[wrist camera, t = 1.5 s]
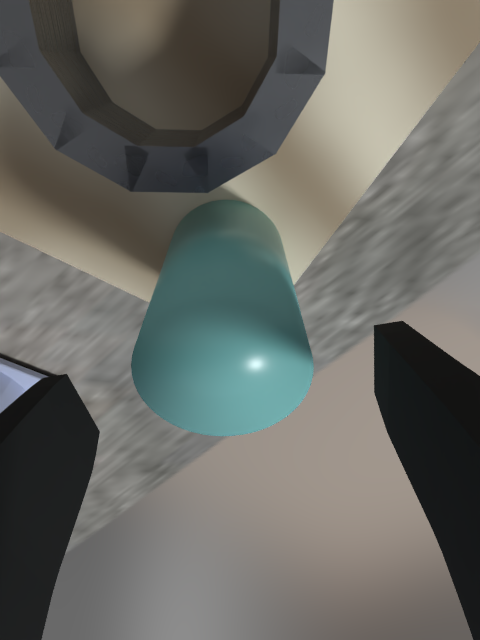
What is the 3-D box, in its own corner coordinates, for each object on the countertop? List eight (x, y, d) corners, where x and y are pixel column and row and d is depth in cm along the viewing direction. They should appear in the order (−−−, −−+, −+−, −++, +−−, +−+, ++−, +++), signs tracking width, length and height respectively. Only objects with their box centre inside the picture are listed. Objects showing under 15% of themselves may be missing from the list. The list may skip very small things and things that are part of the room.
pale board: (245, 335, 19) (245, 348, 18) (-48, 193, 15) (-64, 201, 14) (536, -54, 11) (560, -63, 11) (103, -533, 8) (87, -606, 7)
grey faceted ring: (224, 211, 14) (221, 242, 12) (-4, 78, 12) (-65, 83, 10) (371, -39, 11) (412, -68, 8) (84, -300, 8) (20, -453, 6)
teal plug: (245, 320, 17) (251, 455, 11) (151, 273, 16) (104, 398, 10) (305, 237, 15) (351, 349, 9) (204, 176, 14) (182, 261, 8)
